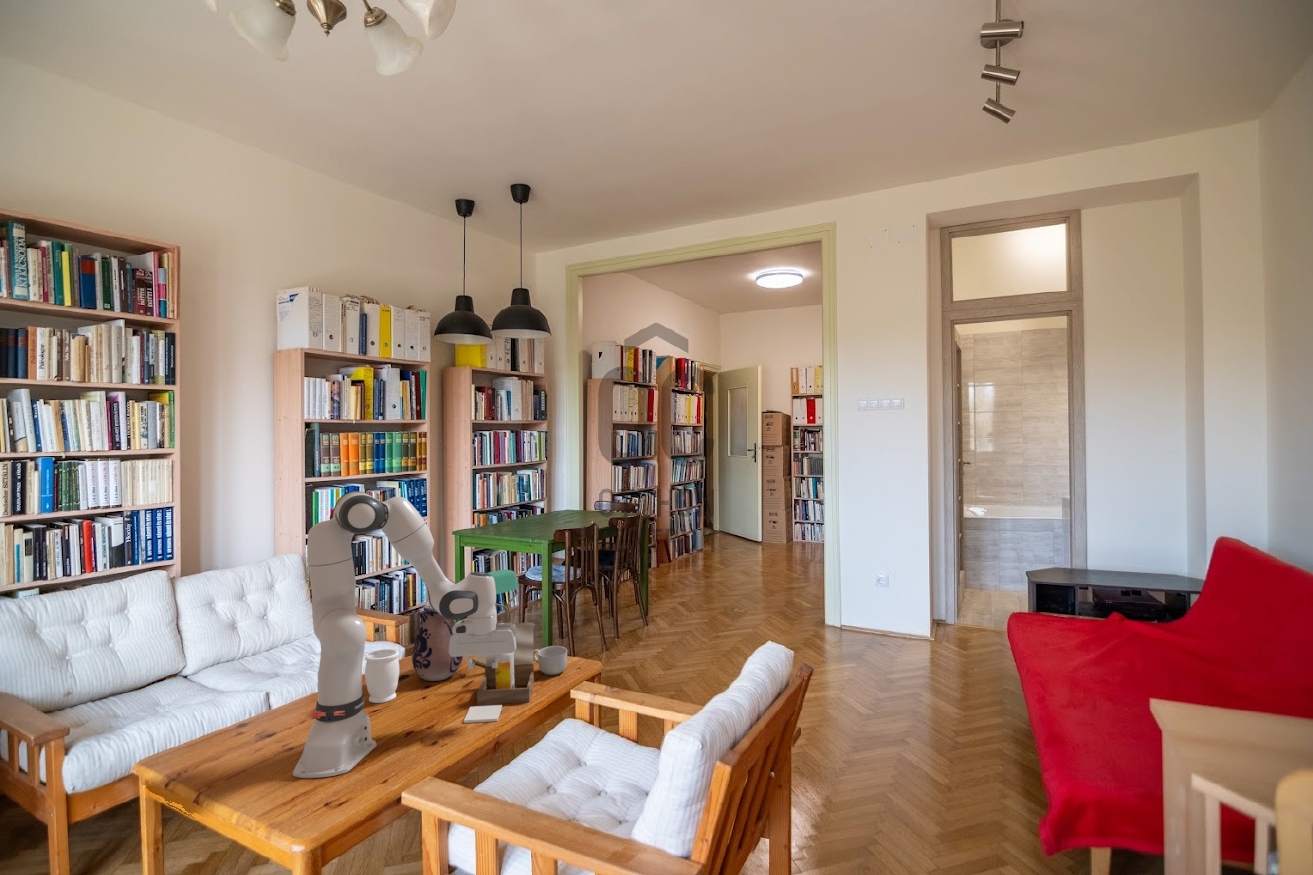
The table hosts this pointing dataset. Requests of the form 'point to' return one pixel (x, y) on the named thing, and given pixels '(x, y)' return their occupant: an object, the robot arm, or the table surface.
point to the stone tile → (483, 714)
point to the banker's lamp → (503, 583)
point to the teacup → (551, 659)
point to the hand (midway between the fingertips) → (483, 668)
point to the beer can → (505, 671)
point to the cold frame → (521, 672)
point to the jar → (382, 674)
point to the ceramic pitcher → (434, 647)
